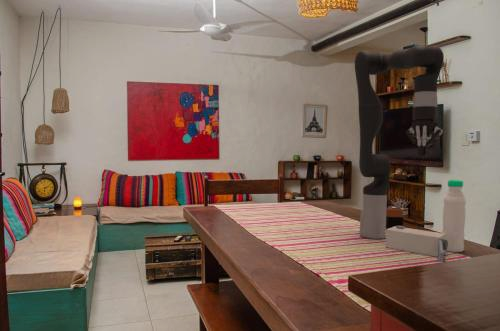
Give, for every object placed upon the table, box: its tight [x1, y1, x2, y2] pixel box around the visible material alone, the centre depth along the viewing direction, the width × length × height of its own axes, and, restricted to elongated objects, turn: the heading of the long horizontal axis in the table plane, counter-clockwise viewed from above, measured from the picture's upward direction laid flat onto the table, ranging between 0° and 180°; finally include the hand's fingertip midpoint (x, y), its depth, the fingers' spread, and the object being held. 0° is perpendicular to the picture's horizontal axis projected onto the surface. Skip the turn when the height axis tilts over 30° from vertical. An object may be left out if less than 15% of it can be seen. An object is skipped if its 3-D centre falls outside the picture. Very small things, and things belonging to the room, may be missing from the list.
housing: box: [385, 225, 448, 258], centre depth 142 cm, size 19×8×7 cm, turn 49°
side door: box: [437, 239, 446, 263], centre depth 125 cm, size 18×1×6 cm, turn 156°
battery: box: [386, 205, 405, 229], centre depth 178 cm, size 4×7×10 cm, turn 87°
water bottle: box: [441, 179, 467, 253], centre depth 142 cm, size 7×7×25 cm
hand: (422, 157), depth 137 cm, fingers closed
